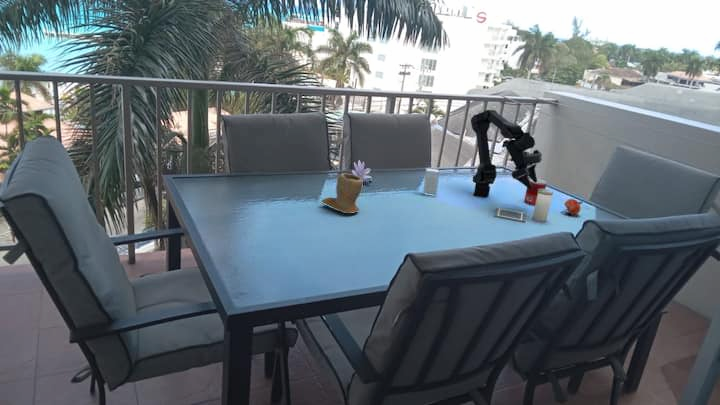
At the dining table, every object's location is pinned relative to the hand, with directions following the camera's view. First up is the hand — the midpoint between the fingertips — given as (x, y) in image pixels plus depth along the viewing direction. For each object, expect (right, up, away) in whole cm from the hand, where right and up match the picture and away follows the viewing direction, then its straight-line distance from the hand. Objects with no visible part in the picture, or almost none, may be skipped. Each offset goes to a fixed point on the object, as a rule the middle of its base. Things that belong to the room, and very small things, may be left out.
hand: (533, 185), depth 207 cm
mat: (-10, -13, 0) cm, 17 cm away
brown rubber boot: (-82, -11, -11) cm, 83 cm away
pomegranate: (+19, -13, +9) cm, 25 cm away
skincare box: (-42, -4, +18) cm, 46 cm away
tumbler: (+2, -15, -2) cm, 15 cm away
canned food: (+7, -8, +20) cm, 22 cm away
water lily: (-74, +2, +26) cm, 78 cm away
